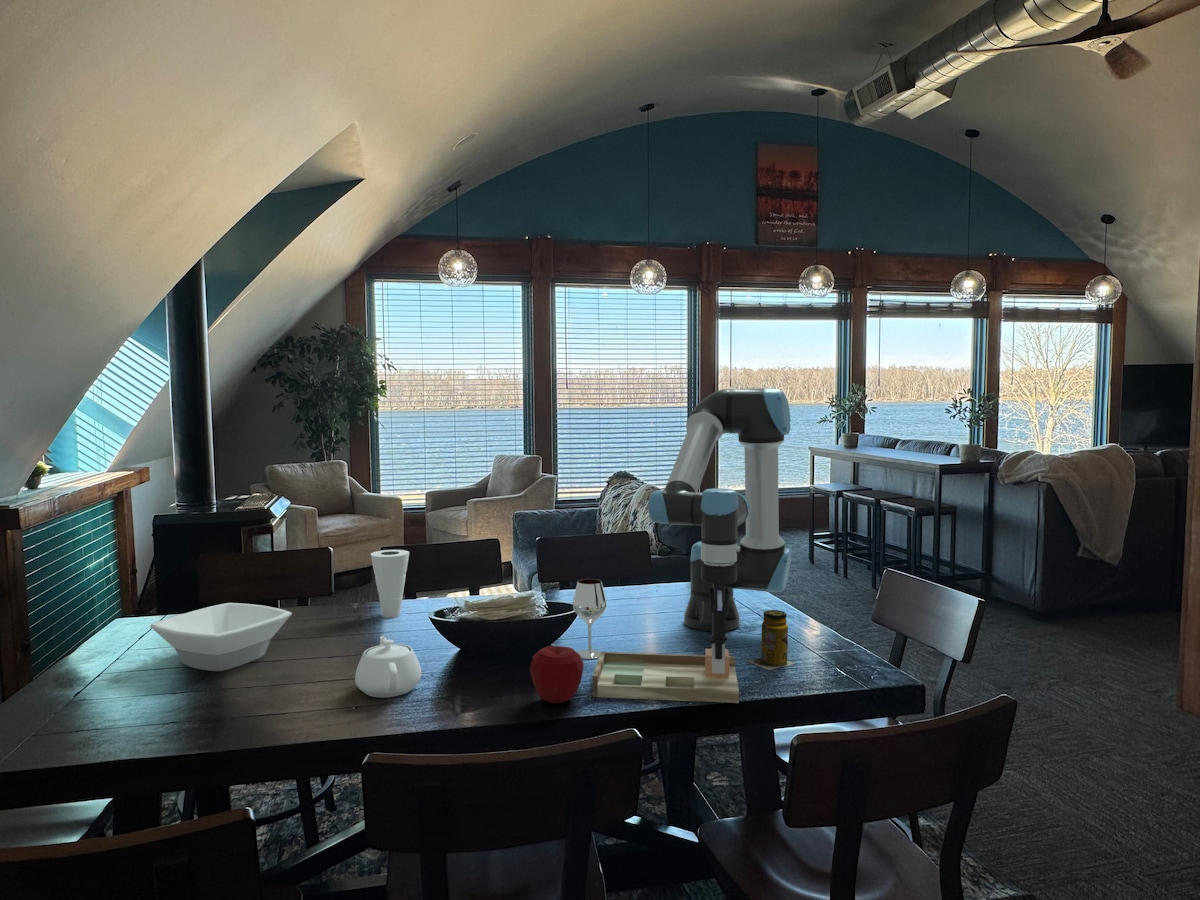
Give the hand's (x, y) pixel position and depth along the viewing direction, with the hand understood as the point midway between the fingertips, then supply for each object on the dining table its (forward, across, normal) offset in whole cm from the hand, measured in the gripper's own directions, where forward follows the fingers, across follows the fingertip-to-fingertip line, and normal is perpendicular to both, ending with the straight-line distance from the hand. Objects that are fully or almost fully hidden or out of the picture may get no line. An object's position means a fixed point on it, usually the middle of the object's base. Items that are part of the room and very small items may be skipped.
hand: (718, 672), depth 170 cm
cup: (+4, +49, +91) cm, 103 cm away
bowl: (+4, +7, +116) cm, 116 cm away
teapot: (+4, -7, +70) cm, 70 cm away
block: (+1, +3, 0) cm, 3 cm away
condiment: (+4, +19, -13) cm, 23 cm away
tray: (+4, +1, +11) cm, 12 cm away
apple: (+4, -10, +33) cm, 35 cm away
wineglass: (+4, +20, +30) cm, 36 cm away
